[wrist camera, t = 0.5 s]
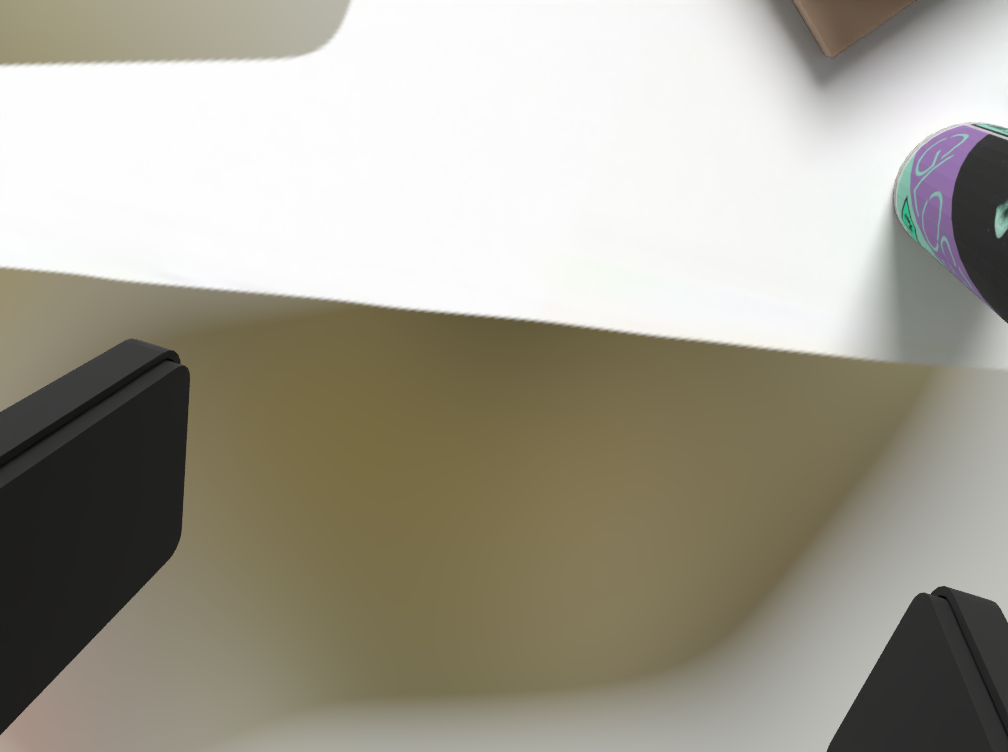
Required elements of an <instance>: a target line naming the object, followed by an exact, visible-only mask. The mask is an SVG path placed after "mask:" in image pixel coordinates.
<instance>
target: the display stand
mask: <svg viewBox="0 0 1008 752" xmlns="http://www.w3.org/2000/svg"><path fill="white" fill-rule="evenodd" d="M792 1H793V3H794V4H795V6H796V8H797V9H798V11H799V13H800V14H801V16H802V18H803V19H804V21H805V23H806V24H807V26H808V28H809V29H810V31H811V33H812V35H813V36H814V38H815V40H816V41H817V43H818V45H819V46H820V48H821V50H822V51H823V53H824V55H825V56H829V57H834V56H836V55H837V54H839V53H840V52H842V51H843V50H845V49H846V48H847V47H849V46H850V45H852V44H853V43H855V42H856V41H858V40H859V39H861V38H862V37H863V36H865V35H866V34H868V33H869V32H871V31H872V30H874V29H875V28H876V27H878V26H879V25H881V24H882V23H884V22H885V21H887V20H888V19H890V18H891V17H892V16H894V15H895V14H897V13H898V12H900V11H901V10H903V9H904V8H906V7H907V6H908V5H910V4H911V3H913V2H914V1H916V0H792Z"/></svg>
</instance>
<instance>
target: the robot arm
mask: <svg viewBox="0 0 1008 752" xmlns="http://www.w3.org/2000/svg"><path fill="white" fill-rule="evenodd" d="M189 384H190V373H189V370H188V368H187V367H186V366H184V365H181V364H180V359H179V356H178V354H177V353H176V352H175V351H173V350H169V349H166V348H163V347H160V346H157V345H153V344H150V343H147V342H143V341H140V340H137V339H128V340H126V341H124V342H122V343H120V344H118V345H117V346H115V347H113V348H111V349H110V350H108V351H106V352H104V353H103V354H101V355H99V356H97V357H96V358H94V359H92V360H91V361H89V362H87V363H85V364H83V365H82V366H80V367H78V368H76V369H75V370H73V371H71V372H70V373H68V374H66V375H64V376H63V377H61V378H59V379H57V380H56V381H54V382H52V383H50V384H49V385H47V386H45V387H43V388H42V389H40V390H38V391H37V392H35V393H33V394H32V395H29V396H28V397H26V398H24V399H22V400H21V401H19V402H17V403H16V404H14V405H12V406H10V407H8V408H7V409H5V410H3V411H2V412H0V735H1V734H2V733H3V732H4V731H5V729H7V728H8V726H9V725H10V724H11V723H12V722H13V721H14V720H15V719H16V718H17V717H18V716H19V715H20V714H21V713H22V712H23V711H24V710H25V709H26V708H27V707H28V705H29V704H30V703H31V702H33V700H34V699H35V698H36V697H37V696H38V695H39V694H40V693H41V692H42V691H43V690H44V689H45V688H46V687H47V686H48V685H49V684H50V683H51V682H52V681H53V680H54V678H56V676H57V675H58V674H59V673H60V672H61V671H62V670H63V669H64V668H65V667H66V666H67V665H68V664H69V663H70V662H71V661H72V660H73V659H74V658H75V657H76V656H77V655H78V654H79V653H80V652H81V650H82V649H83V648H84V647H85V646H86V645H87V644H88V643H89V642H90V641H91V640H92V639H93V638H94V637H95V636H96V635H97V634H98V633H99V632H100V631H101V630H102V629H103V627H104V626H106V624H107V623H108V622H109V621H110V620H111V619H112V618H113V617H114V616H115V615H116V614H117V613H118V612H119V611H120V610H121V609H122V608H123V607H124V606H125V605H126V604H127V603H128V602H129V601H130V600H131V598H132V597H133V596H134V595H135V594H136V593H137V592H138V591H139V590H140V589H141V588H142V587H143V586H144V585H145V584H146V583H147V582H148V581H149V580H150V579H151V578H152V577H153V576H154V575H155V573H156V572H157V571H158V570H159V569H160V568H161V567H162V566H163V565H164V564H165V563H166V562H167V561H168V560H169V559H170V557H171V556H172V555H173V553H174V551H175V550H176V548H177V545H178V543H179V540H180V537H181V530H182V512H183V496H184V477H185V459H186V441H187V423H188V404H189V386H190V385H189ZM827 752H1008V623H1007V620H1006V618H1005V617H1004V615H1003V613H1002V611H1001V609H1000V608H999V606H998V605H997V604H996V603H995V602H993V601H991V600H988V599H985V598H981V597H978V596H975V595H972V594H968V593H965V592H962V591H959V590H955V589H952V588H949V587H945V586H942V587H938V588H937V589H935V590H934V591H933V592H932V593H931V594H927V593H920V594H918V595H917V596H916V597H915V598H914V599H913V601H912V602H911V604H910V605H909V607H908V609H907V611H906V613H905V614H904V616H903V618H902V619H901V621H900V623H899V625H898V626H897V628H896V630H895V632H894V633H893V635H892V637H891V639H890V640H889V642H888V644H887V645H886V647H885V649H884V651H883V652H882V654H881V656H880V658H879V659H878V661H877V663H876V665H875V666H874V668H873V670H872V671H871V673H870V675H869V677H868V679H867V680H866V682H865V684H864V685H863V687H862V689H861V690H860V692H859V694H858V696H857V698H856V699H855V701H854V703H853V704H852V706H851V708H850V710H849V711H848V713H847V715H846V717H845V718H844V720H843V722H842V724H841V725H840V727H839V729H838V730H837V732H836V734H835V736H834V737H833V739H832V741H831V743H830V745H829V747H828V749H827Z"/></svg>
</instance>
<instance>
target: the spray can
mask: <svg viewBox="0 0 1008 752" xmlns="http://www.w3.org/2000/svg"><path fill="white" fill-rule="evenodd" d="M894 206H895V210H896V214H897V217H898V219H899V221H900V223H901V225H902V226H903V227H904V229H905V230H906V231H907V232H908V233H909V235H910V236H911V237H912V238H913V239H914V240H916V241H917V242H918V243H919V244H920V245H921V246H922V247H923V248H924V249H926V250H927V251H928V252H929V253H930V254H931V255H932V256H933V257H934V258H936V259H937V260H938V261H939V262H940V263H941V264H942V265H943V266H944V267H946V268H947V269H948V270H949V271H950V272H951V273H952V274H953V275H954V276H956V277H957V278H958V279H959V280H960V281H961V282H962V283H963V284H965V285H966V286H967V287H968V288H969V289H970V290H971V291H972V292H973V293H975V294H976V295H977V296H978V297H979V298H980V299H981V300H982V301H983V302H985V303H986V304H987V305H988V306H989V307H990V308H991V309H992V310H993V311H995V312H996V313H997V314H998V315H999V316H1000V317H1001V318H1002V319H1003V320H1005V321H1006V322H1007V323H1008V129H1007V128H1004V127H1001V126H997V125H992V124H988V123H971V122H969V123H963V124H956V125H953V126H950V127H947V128H944V129H941V130H940V131H938V132H936V133H934V134H932V135H930V136H929V137H927V138H926V139H925V140H924V141H922V142H921V143H920V144H918V145H917V146H916V147H915V149H914V150H913V151H912V152H911V153H910V154H909V155H908V157H907V158H906V160H905V161H904V163H903V164H902V166H901V168H900V170H899V173H898V175H897V178H896V182H895V187H894Z"/></svg>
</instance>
